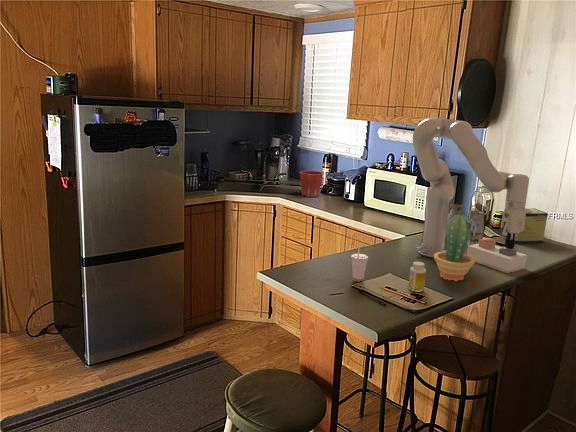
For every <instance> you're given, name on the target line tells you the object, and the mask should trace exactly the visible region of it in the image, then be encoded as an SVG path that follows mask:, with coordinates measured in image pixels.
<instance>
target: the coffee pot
mask: <svg viewBox="0 0 576 432" xmlns="http://www.w3.org/2000/svg"><path fill="white" fill-rule="evenodd" d="M450 207H451V209H450V211H449V212H448V220H447V223H448V222H449V220H450V219H451V218H452V217H454V216H455V215H458V214H459V215H460V216H462V215H464V212H463V208H464V205H463V204H459V203H451V204H450Z"/></svg>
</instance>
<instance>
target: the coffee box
mask: <svg viewBox="0 0 576 432" xmlns="http://www.w3.org/2000/svg"><path fill="white" fill-rule="evenodd" d="M487 216H488V215H487V213H485V211H483V210H469V217H468V219H471V220H473V221H474V223H475V225H476V228H477V231H476V233H475V235H474V236H473V230H472V232H471V237H470V239H469V241H468V243H467V244H466V245H467V247H468V246H469V245H474V244H479V240H480V239H483V238H485V232H486V225H487V224H486V223H487V218H488V217H487Z"/></svg>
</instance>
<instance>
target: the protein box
mask: <svg viewBox="0 0 576 432" xmlns="http://www.w3.org/2000/svg"><path fill="white" fill-rule="evenodd" d="M525 210H526V218H525V228H524V231H522V232H520V233H519V234H517V237H516V239H515V244H543V243H544V239H545V233H546V232H545V231H546V227H547V220H548V215H549V214H548V212H545V211H543V210H540V209H537V208H533V207H531V208H526V207H525ZM502 236H503V237H505V236H504V235H502Z"/></svg>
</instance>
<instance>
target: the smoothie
mask: <svg viewBox="0 0 576 432" xmlns="http://www.w3.org/2000/svg"><path fill="white" fill-rule="evenodd" d="M360 247H361V244H358V246H357V253H352V254H351V255H350V259H351V270H352V272H351V273H352V278H353V277H354V278H357V279H362V278H363V279H364V277H365V272H366V268H367V264H368V261H369V256H368V255H367V254H364V253H360V249H361V248H360Z"/></svg>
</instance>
